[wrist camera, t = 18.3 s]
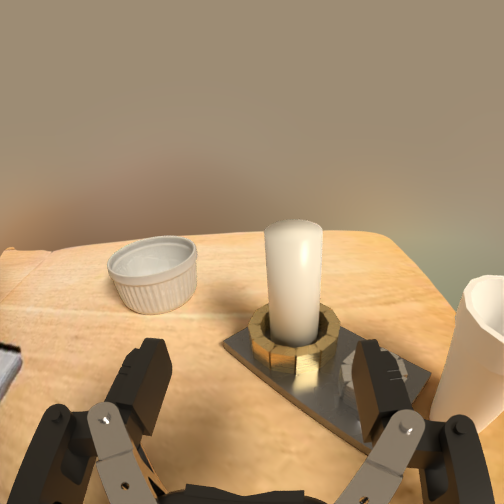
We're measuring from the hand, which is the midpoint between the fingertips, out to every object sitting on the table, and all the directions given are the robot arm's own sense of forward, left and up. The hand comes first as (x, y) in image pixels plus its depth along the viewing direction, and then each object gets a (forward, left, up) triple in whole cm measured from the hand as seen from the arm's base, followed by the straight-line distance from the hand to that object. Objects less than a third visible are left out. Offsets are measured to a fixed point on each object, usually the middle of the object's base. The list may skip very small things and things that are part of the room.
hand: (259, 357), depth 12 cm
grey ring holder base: (-5, +13, -15) cm, 20 cm away
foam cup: (+10, +16, -15) cm, 24 cm away
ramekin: (-31, +7, -15) cm, 35 cm away
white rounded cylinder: (-10, +13, -14) cm, 21 cm away
